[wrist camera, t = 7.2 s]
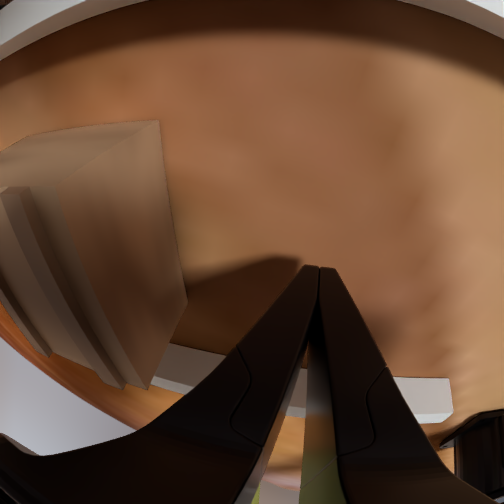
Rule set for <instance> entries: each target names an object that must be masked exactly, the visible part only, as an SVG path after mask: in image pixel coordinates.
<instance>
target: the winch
mask: <svg viewBox="0 0 504 504" xmlns="http://www.w3.org/2000/svg"><path fill="white" fill-rule="evenodd" d="M12 1H13V0H0V10H1V9H2V8H4V7H5V6H6V5H8V4H9V3H11V2H12Z"/></svg>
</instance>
